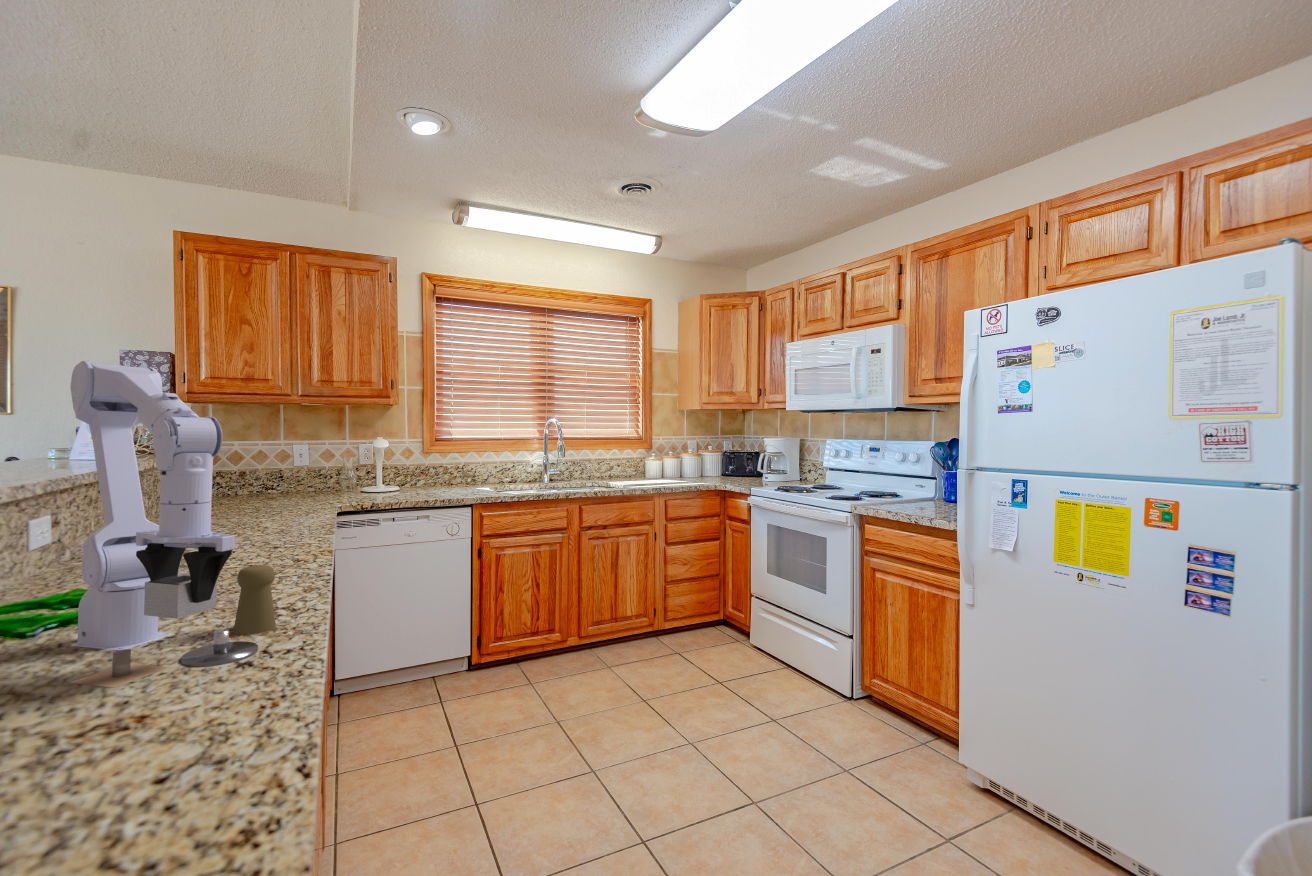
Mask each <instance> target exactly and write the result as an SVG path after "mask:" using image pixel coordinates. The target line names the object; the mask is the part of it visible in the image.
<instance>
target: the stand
mask: <svg viewBox="0 0 1312 876" xmlns="http://www.w3.org/2000/svg"><path fill="white" fill-rule="evenodd" d="M131 657H132V650H131V648H128V649H124V650H114V651H113V652H112V661H111V663H112V665H111V667H110V668H107V669H104V670H101V671H99V672H95V673H93V674H90V675H87V676H83V677H81V678H77V679H75V680H73V681H69V684H70V683H71V684H79V685H86V686H93V687H94V686H95V687H101V688H103V687H104V688H111V689H115V688H116V689H117V688H118V687H121V686H124V685H126V684H129V683H131V682H134V681H137V680H139V679H142V678H145V677H149V676H151V675H152V674H155V673H158V672H160V671H164V670H166V669H169V668H170V666H164V665H154V664H146V663H145V664H144V663H137V662H136V663H135V662H131Z"/></svg>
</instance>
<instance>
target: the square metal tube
mask: <svg viewBox="0 0 1312 876" xmlns="http://www.w3.org/2000/svg"><path fill="white" fill-rule="evenodd" d="M217 590H218V580H217V581H216V584H215V587H214V590H213V593H212V596H211V599H210V600H207V601H203V602H199V603H193V600H192V595H191V578H190V573H189V572H185V573H180V574H179V573H178V575H175V576H170V577H166V578H161V579H157V580H152V581H148V582H145V596H144V615H147V616H156V617H158V618H167V619H175V620H176V619H181V618H186V617H188V616H192V615H195V614H198V613H202V612H205V611H207V610H211V609H215V608H217V599H218V598H217V597H218V595H217V593H218V592H217Z"/></svg>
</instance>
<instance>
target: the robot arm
mask: <svg viewBox="0 0 1312 876" xmlns="http://www.w3.org/2000/svg"><path fill="white" fill-rule="evenodd" d="M69 387H70V388H69V389H70V393H71V395H70V396H71V401H72V408H73V411H74V415H75V418H76V419H77V420H79V421H82V422H83V423H86V424H87V425H88V427H89V431H90V434H91V439H92V446H93V451H94V459H95V465H96V466H95V467H96V472H97V481H98V488H99V496H100V500H101V507H102V508H101V509H102V516H103V521H104V525H103V526H102V527H100V528H99V529H97V530H96V531H95V532H93V533H92V534H90V535H89V536H88V537H87V538H86V539H85V541H84V542H83V544H82V560H81V574H82V578H83V581H84V583H85V584H86V585H87V586H88V587H90V588H89V589H88V590H86V592H85V593H84V594H83V595H82V596H81V599H80V601H79V603H78V615H77V616H78V617H77V641H76V642H75V643H72V644H71V645H70V646H73V647H83V648H92V649H100V650H108V651H110V650H112V651H118V650H124V649H131V648H134V647H137V646H140V645H144V644H146V643H149V642H153V641H156V640H160V639H162V638H166V637H169V636H172V635H174V634H173V632H164V631H163V632H161V631H159V617H156V616H147V615H144V596H145V582H148V581H152V580H157V579H161V578H166V577H170V576H175V575H179V569H180V564H181V560H182V559H183V558H184V561H185V562H186V563H185V564H186V565H187V566H186V567H187V568H188V573H189V574H190V578H191V595H192V600H193V603H199V602H203V601H207V600H210V599H211V596H212V593H213V590H214V587H215V584H216V581H217V582H218V579H219V578H218V577H219V575H220V574H221V571H222V570H223V567H224V566H225V564H226V562H227V561H228V560H229V558H230V557H231V556H232V554H233V550H235V547H236V535H235V534H233V535H231V534H224V533H220V532H216V531H212V529H211V528H212V501H213V499H212V498H213V470H214V469H213V467H214V464H213V463H214V458H215V457H217V455H219V453H220V451H221V448H222V446H223V438H224V436H223V430H222V426H221V423H220V422H219V421H218V419H217V418H216V417H214V416H206V417H201V416H199V415H198V414H196V412H195V411H193V409H191V408H190V407H189V406H188V405H187V404H186V403H185V402H183V400H182V399H180V397H179V395H178V394H177V393H176V392H175V393H174V392H172V393H171V392H163V380H162V376H161V373H159V371H158V370H157V369H156V368H154V367H140V366H139V367H138V366H129V365H120V364H119V365H118V364H110V363H109V364H108V363H99V362H90V361H89V360H81V361H79V363H77V364H76V365H75V366H74V368H73V370H72V373H71V378H70V386H69ZM139 424H142V426H144V427H145V428H146V430H147V431H148V432H149V433H150V434H151V435H152V446H153V450H154V453H155V458H156V459H155V461H156V462H155V465H156V469H157V470H160V485H159V486H160V488H159V514H158V515H159V519H158V520H159V522H158V524H157V523H155V522H153V521H150V520H149V519H147V517H146V512H145V511H146V510H145V505H144V499H143V493H142V487H141V481H140V473H139V466H138V463H137V462H138V460H137V454H136V450H135V449H136V447H135V442H134V436H133V428H134V427H135V426H136V425H139ZM186 549H196V550H195V551H190V552H185V550H186ZM197 549H198V550H197Z"/></svg>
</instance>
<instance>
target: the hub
mask: <svg viewBox="0 0 1312 876" xmlns="http://www.w3.org/2000/svg"><path fill="white" fill-rule="evenodd" d="M258 651H259V645H258V644H257V643H255V642H251V641H245V640H244V641H243V640H242V641H230V629H228V628H227V629H226V628H224V629H218V630H215V631H213V643H212V644H208V645H204V646H200V647H198V648H195V649H192V650H188V651H187V652H185V653H184V654H182V656H181V658H180V659H181V660H180V661H181V664H182V665H185V666H188V667H197V668H198V667H200V668H202V667H214V666H222V665H226V664H231V663H235V662H239V661H242V660H245V659H248V658H250V657H253V656H255V654H257V652H258Z"/></svg>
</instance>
